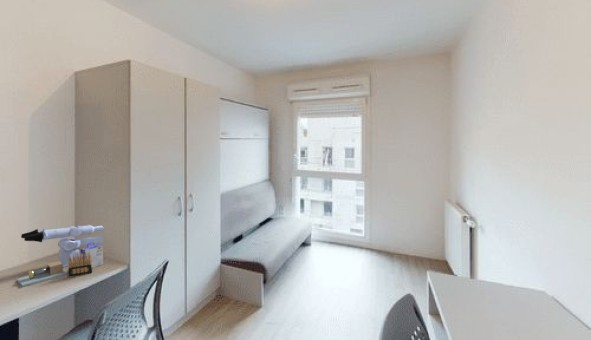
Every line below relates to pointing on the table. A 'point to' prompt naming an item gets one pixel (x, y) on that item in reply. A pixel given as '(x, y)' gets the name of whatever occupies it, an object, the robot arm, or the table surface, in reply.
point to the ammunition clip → (80, 265)
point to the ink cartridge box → (94, 254)
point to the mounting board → (44, 275)
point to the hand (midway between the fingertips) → (23, 237)
